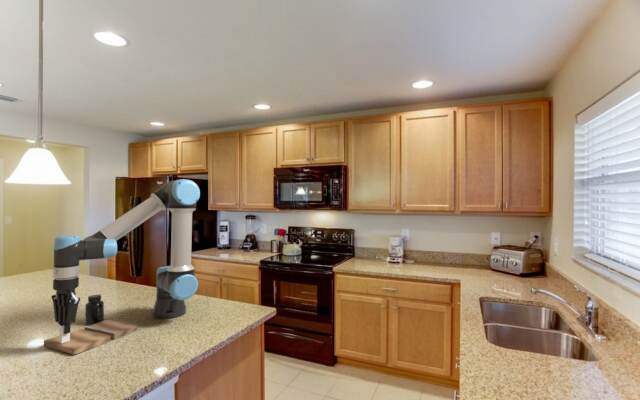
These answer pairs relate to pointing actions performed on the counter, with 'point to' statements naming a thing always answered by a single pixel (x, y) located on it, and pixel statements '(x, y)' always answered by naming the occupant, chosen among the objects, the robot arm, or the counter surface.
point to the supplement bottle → (94, 310)
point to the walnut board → (112, 328)
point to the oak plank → (78, 341)
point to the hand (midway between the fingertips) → (64, 341)
